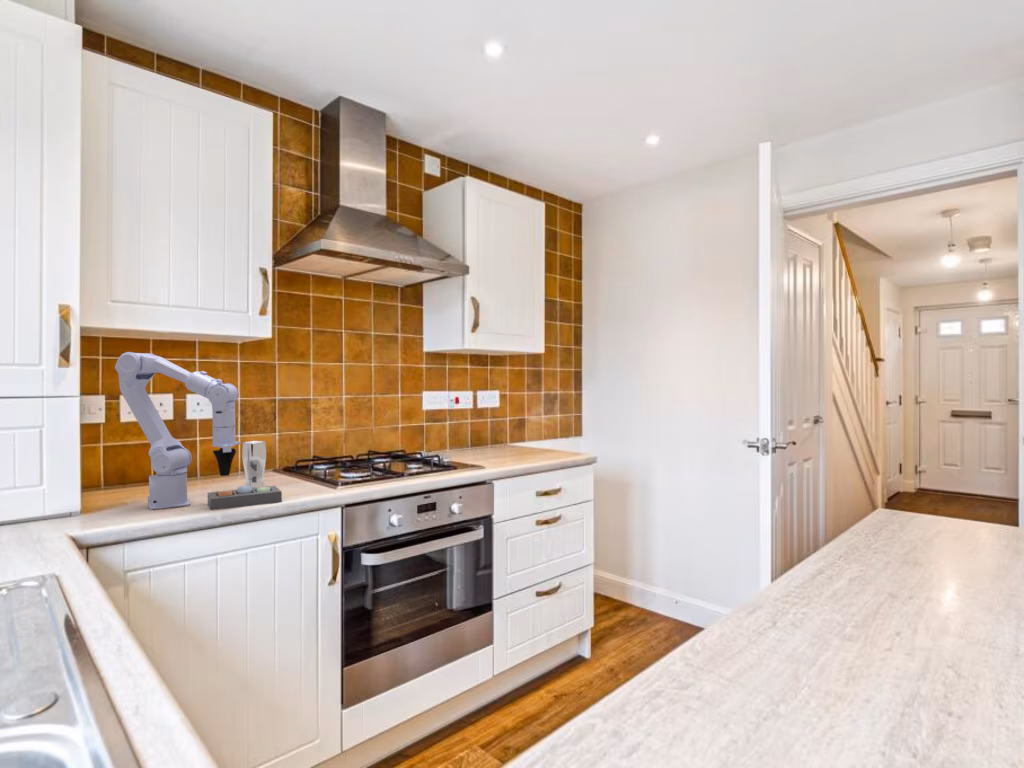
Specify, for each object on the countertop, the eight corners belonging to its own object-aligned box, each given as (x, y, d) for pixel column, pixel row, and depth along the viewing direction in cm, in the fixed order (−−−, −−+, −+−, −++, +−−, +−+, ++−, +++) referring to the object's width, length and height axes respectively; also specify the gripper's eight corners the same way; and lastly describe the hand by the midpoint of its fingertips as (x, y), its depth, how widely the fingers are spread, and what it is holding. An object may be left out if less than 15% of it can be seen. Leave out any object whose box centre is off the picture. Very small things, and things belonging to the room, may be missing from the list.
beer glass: (238, 490, 184) (237, 442, 184) (256, 486, 190) (256, 440, 190) (252, 491, 181) (252, 443, 181) (271, 487, 187) (270, 441, 187)
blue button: (238, 499, 163) (238, 488, 163) (237, 496, 166) (236, 486, 166) (252, 497, 165) (252, 487, 165) (250, 495, 168) (250, 485, 168)
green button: (257, 500, 166) (257, 489, 166) (255, 498, 169) (255, 487, 169) (271, 498, 168) (271, 488, 168) (269, 496, 171) (269, 486, 171)
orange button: (218, 504, 161) (218, 493, 161) (217, 502, 164) (217, 491, 164) (233, 503, 163) (233, 492, 163) (231, 500, 166) (231, 490, 166)
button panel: (210, 510, 157) (210, 499, 157) (207, 503, 165) (207, 492, 165) (281, 501, 166) (281, 491, 166) (275, 495, 175) (275, 485, 175)
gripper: (243, 428, 159) (243, 477, 159) (236, 424, 171) (237, 470, 171) (214, 429, 155) (215, 480, 155) (209, 425, 167) (210, 472, 168)
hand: (224, 475), depth 163 cm, fingers closed
